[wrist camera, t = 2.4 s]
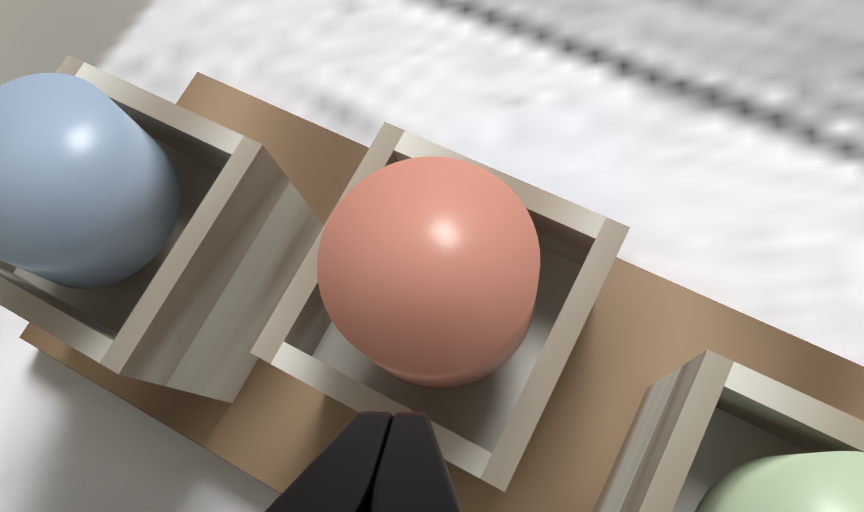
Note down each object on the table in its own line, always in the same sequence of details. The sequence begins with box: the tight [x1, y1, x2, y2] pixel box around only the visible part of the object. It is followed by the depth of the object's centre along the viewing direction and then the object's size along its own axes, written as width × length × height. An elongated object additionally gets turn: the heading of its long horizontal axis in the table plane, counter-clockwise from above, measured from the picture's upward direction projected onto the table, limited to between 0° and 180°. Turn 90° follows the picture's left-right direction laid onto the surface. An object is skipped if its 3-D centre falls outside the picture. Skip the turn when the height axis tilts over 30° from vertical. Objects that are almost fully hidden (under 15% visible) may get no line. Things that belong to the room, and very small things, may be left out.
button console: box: [0, 55, 864, 512], centre depth 17 cm, size 24×10×7 cm, turn 62°
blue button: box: [0, 73, 181, 289], centre depth 14 cm, size 4×4×2 cm
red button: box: [317, 156, 540, 389], centre depth 13 cm, size 4×4×2 cm
